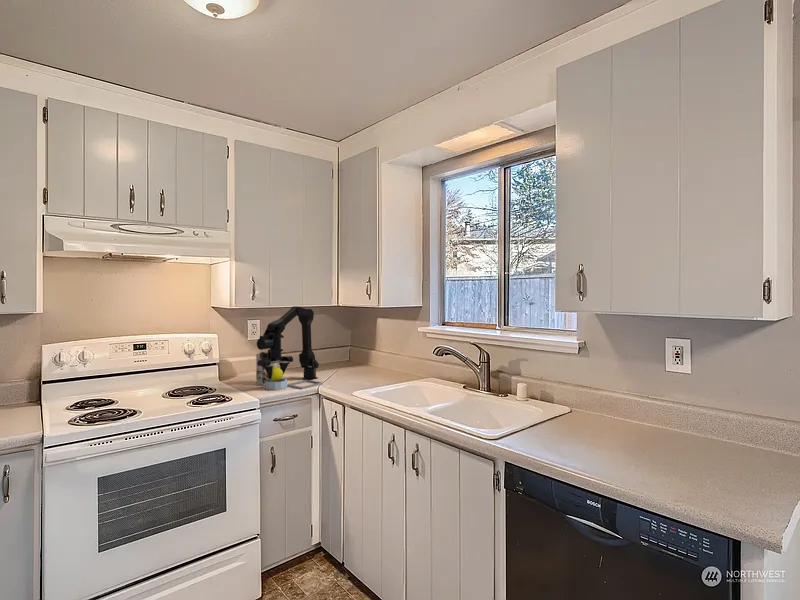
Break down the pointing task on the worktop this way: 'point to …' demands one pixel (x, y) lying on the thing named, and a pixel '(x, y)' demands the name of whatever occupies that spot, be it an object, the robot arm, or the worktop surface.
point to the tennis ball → (276, 374)
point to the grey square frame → (304, 382)
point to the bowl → (275, 384)
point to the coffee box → (262, 372)
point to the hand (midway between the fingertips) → (276, 377)
